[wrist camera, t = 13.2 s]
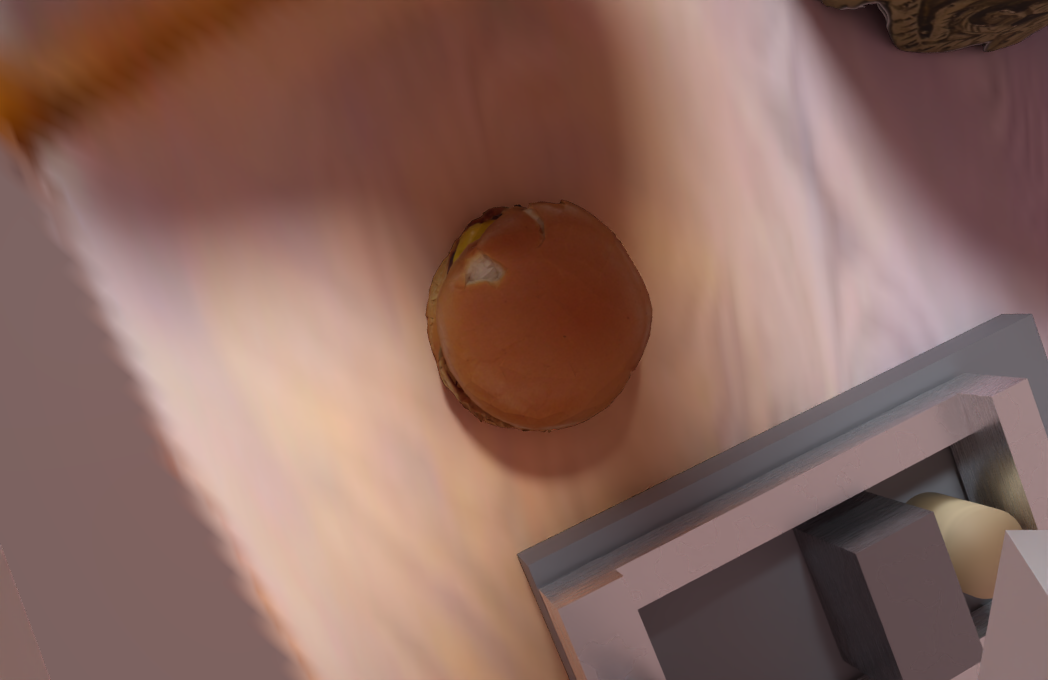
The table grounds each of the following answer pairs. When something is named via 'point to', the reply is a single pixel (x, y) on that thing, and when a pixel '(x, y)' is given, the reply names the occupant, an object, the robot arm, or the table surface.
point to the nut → (970, 538)
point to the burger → (537, 317)
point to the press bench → (778, 565)
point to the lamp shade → (956, 22)
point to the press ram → (806, 513)
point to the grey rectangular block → (889, 589)
